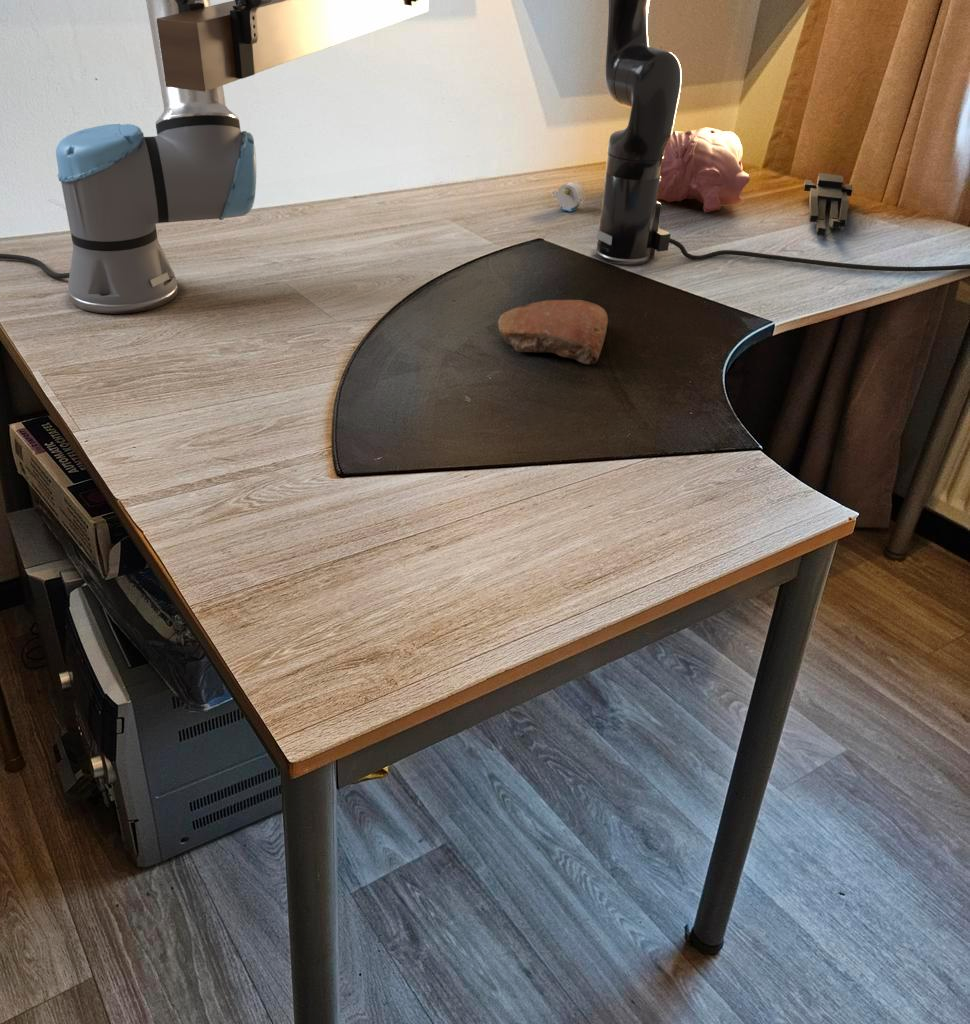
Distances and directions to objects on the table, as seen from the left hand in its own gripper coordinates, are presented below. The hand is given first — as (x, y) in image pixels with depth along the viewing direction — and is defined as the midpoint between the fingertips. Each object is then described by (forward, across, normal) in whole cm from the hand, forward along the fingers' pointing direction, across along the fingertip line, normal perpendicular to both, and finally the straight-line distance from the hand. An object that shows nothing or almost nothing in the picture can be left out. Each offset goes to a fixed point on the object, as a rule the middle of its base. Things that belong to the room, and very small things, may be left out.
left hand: (223, 72), depth 105 cm
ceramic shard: (+36, +34, +24) cm, 55 cm away
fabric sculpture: (+36, +41, +111) cm, 124 cm away
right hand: (-2, 0, +48) cm, 49 cm away
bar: (0, 0, +24) cm, 24 cm away
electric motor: (+36, +21, +85) cm, 95 cm away
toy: (+36, +69, +104) cm, 130 cm away
